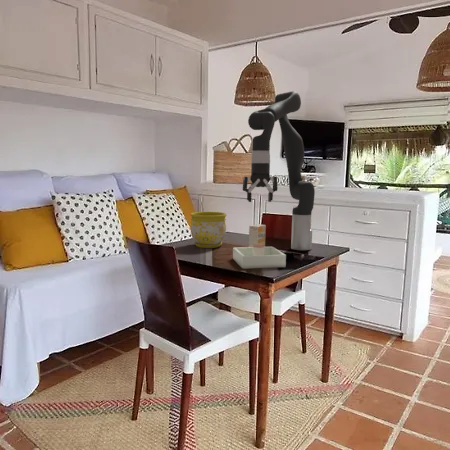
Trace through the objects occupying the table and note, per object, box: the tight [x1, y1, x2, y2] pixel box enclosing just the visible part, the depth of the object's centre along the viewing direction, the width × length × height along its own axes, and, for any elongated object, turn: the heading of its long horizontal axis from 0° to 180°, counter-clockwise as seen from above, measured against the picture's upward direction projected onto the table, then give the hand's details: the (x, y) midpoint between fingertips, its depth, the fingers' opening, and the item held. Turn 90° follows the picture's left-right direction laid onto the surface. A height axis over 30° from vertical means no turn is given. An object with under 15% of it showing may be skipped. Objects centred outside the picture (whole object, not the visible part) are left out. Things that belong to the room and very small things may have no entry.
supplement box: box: [248, 223, 267, 247], centre depth 200 cm, size 8×5×13 cm, turn 148°
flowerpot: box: [190, 211, 227, 249], centre depth 215 cm, size 18×18×16 cm
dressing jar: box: [253, 243, 266, 255], centre depth 180 cm, size 5×5×7 cm
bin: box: [232, 246, 287, 270], centre depth 180 cm, size 18×18×5 cm
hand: (259, 201), depth 177 cm, fingers open, 8 cm apart
